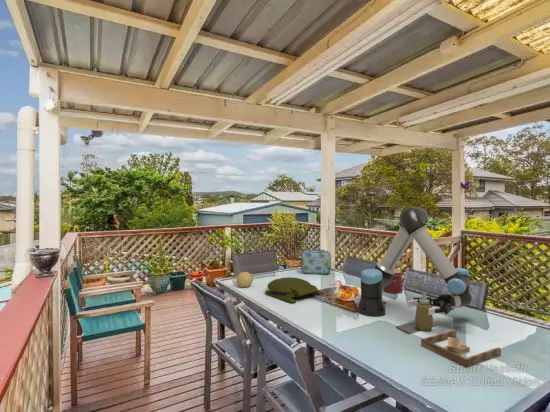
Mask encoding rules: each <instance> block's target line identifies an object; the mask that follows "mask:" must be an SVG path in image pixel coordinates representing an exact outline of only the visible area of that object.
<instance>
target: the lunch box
mask: <svg viewBox="0 0 550 412" xmlns="http://www.w3.org/2000/svg"><path fill="white" fill-rule="evenodd" d="M300 259H301V260H300V269H301V272H302V273H303V274H307V275H309V274H310V275H328V274H330V272H331V270H332V268H331V267H332V256H331V252H330V251H329V250H324V249H304V250H303V251H302V253H301V256H300Z"/></svg>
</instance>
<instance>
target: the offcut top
mask: <svg viewBox="0 0 550 412" xmlns="http://www.w3.org/2000/svg"><path fill="white" fill-rule="evenodd" d="M460 343H461V339H460V338H457V337H455V338H452V337H448V340H447V345H446V346H447V349H448V351H451V352H455V353H460Z"/></svg>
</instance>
